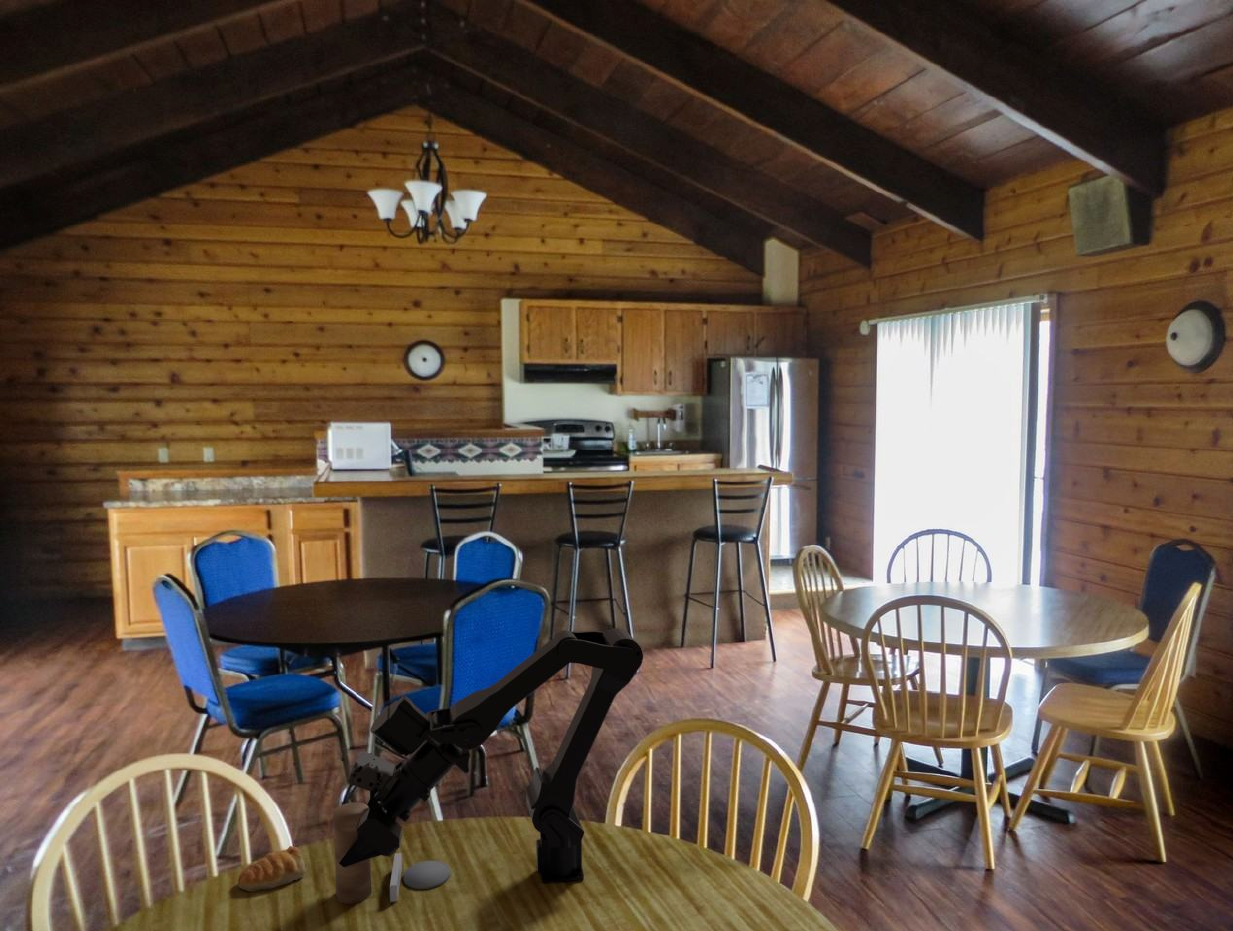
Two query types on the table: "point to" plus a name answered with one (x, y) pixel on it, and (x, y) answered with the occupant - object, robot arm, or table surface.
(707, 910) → the table surface
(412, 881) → the slate mat
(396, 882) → the acrylic wall
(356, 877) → the walnut post
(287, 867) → the pastry
